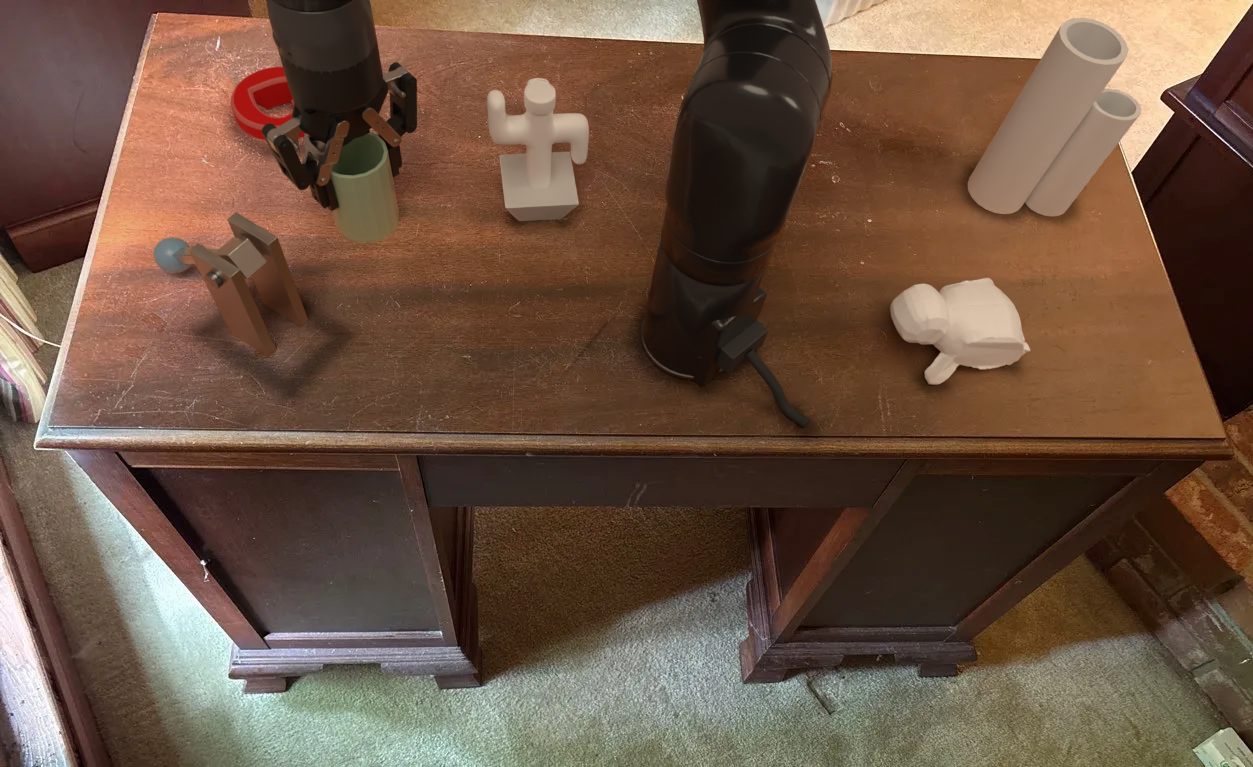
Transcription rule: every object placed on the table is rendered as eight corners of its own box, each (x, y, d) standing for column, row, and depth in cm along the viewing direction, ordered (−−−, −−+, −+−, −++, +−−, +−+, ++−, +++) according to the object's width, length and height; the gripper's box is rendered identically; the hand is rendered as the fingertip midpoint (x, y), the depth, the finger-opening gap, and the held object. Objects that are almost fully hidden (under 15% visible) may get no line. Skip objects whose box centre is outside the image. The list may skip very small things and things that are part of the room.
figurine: (587, 228, 90) (597, 114, 77) (495, 233, 88) (489, 118, 75) (578, 176, 93) (586, 59, 81) (489, 180, 92) (483, 62, 79)
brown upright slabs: (203, 334, 79) (151, 241, 68) (260, 284, 82) (219, 188, 71) (288, 389, 77) (248, 303, 66) (342, 336, 80) (313, 245, 69)
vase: (975, 214, 96) (1072, 63, 79) (960, 166, 100) (1049, 12, 83) (1072, 217, 97) (1188, 69, 80) (1053, 169, 101) (1160, 19, 84)
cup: (412, 224, 86) (401, 156, 79) (359, 254, 84) (343, 188, 76) (375, 188, 88) (360, 119, 81) (323, 216, 86) (302, 148, 78)
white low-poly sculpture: (959, 324, 92) (851, 304, 85) (1022, 274, 86) (911, 248, 78) (990, 394, 88) (879, 379, 80) (1059, 347, 81) (945, 327, 74)
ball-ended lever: (165, 279, 80) (139, 251, 78) (192, 257, 82) (167, 229, 80) (246, 287, 70) (219, 255, 68) (275, 261, 71) (249, 229, 69)
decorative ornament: (239, 91, 95) (230, 66, 92) (331, 86, 97) (325, 62, 94) (236, 154, 90) (227, 131, 88) (333, 148, 92) (327, 125, 89)
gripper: (270, 100, 64) (317, 249, 78) (431, 24, 70) (447, 175, 84) (214, 45, 66) (270, 200, 80) (374, -24, 72) (399, 131, 86)
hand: (360, 187), depth 82 cm, fingers closed on cup, 6 cm apart
